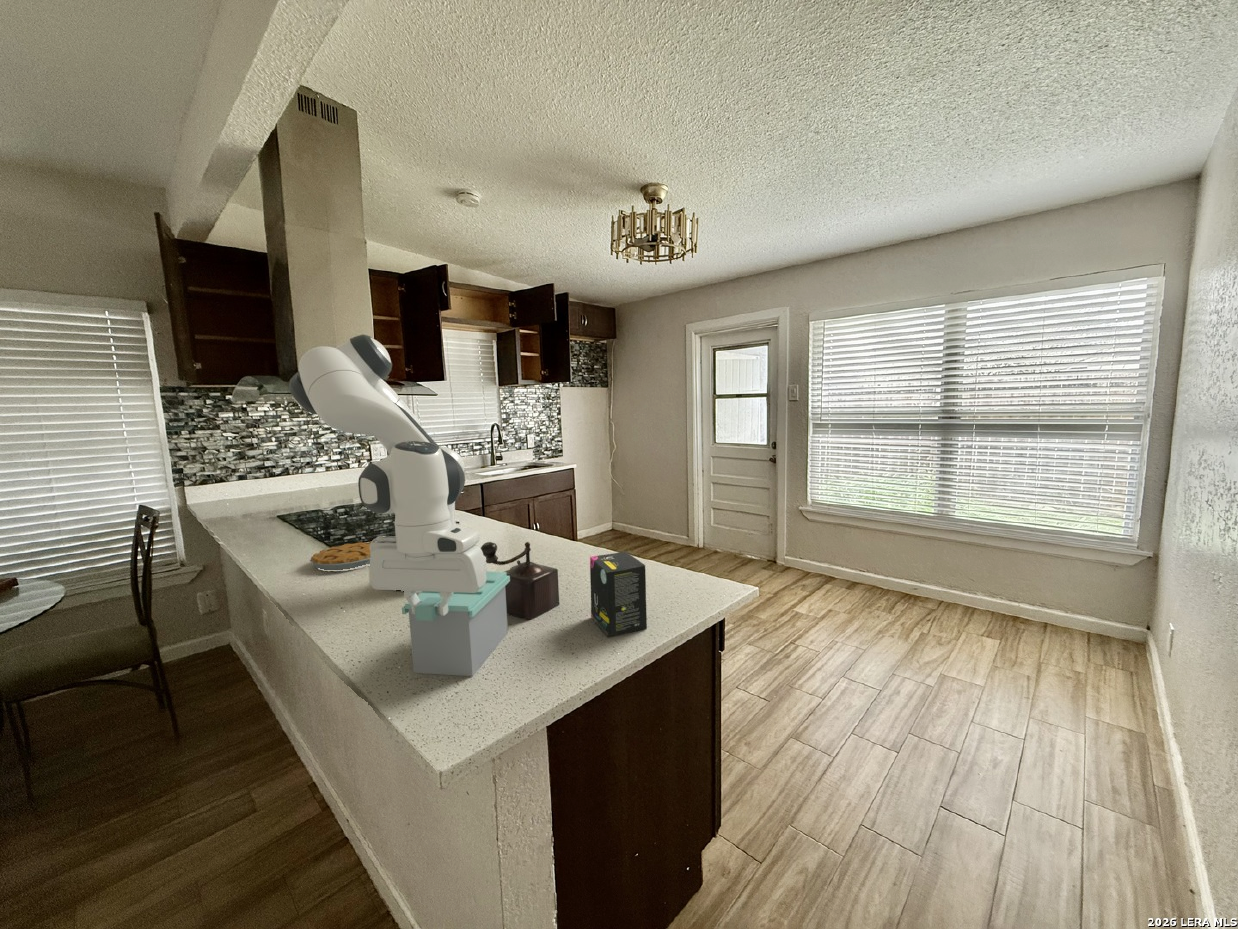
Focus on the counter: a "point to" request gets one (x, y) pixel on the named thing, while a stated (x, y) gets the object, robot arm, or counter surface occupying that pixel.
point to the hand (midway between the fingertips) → (430, 613)
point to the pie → (343, 556)
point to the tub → (458, 639)
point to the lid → (460, 598)
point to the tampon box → (618, 593)
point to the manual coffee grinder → (527, 584)
